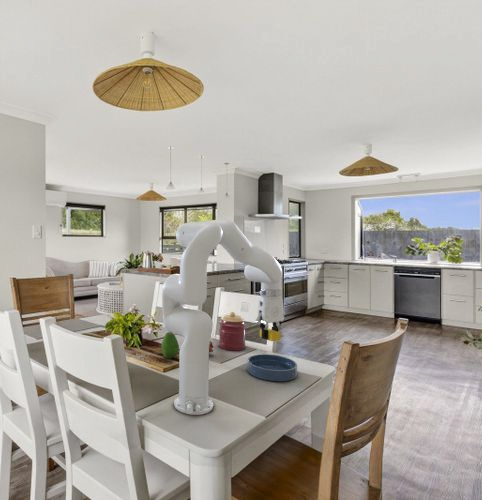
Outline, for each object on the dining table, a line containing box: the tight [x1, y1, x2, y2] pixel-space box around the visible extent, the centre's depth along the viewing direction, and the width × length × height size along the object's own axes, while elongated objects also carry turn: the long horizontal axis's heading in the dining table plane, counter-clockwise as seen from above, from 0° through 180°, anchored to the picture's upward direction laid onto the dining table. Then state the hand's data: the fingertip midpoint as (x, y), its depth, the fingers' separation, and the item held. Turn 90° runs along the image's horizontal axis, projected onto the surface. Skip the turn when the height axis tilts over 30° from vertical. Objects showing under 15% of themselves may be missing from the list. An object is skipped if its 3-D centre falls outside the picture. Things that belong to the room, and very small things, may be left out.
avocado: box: [160, 331, 180, 360], centre depth 163 cm, size 8×8×12 cm
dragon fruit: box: [209, 340, 214, 353], centre depth 167 cm, size 8×8×12 cm
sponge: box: [259, 328, 281, 342], centre depth 145 cm, size 7×4×3 cm, turn 25°
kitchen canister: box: [218, 311, 247, 351], centre depth 180 cm, size 13×13×18 cm
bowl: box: [246, 353, 298, 382], centre depth 147 cm, size 19×19×4 cm
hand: (269, 337), depth 145 cm, fingers closed on sponge, 4 cm apart
